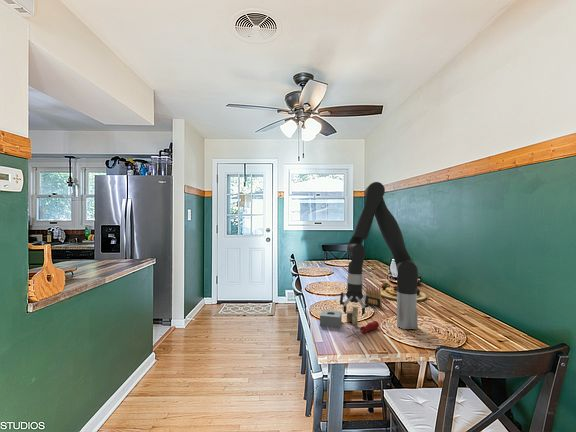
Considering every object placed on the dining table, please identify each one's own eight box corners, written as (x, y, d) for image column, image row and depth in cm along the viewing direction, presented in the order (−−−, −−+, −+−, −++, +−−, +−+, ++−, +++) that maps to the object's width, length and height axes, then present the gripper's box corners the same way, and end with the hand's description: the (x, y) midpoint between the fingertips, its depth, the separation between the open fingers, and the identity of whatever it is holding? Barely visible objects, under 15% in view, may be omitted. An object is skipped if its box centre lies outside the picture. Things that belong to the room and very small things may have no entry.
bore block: (341, 320, 156) (341, 311, 156) (340, 327, 147) (340, 317, 147) (322, 319, 159) (322, 309, 159) (319, 325, 149) (319, 315, 149)
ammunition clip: (381, 307, 182) (381, 287, 182) (380, 307, 180) (380, 287, 181) (366, 303, 190) (366, 284, 190) (364, 303, 188) (364, 284, 188)
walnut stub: (356, 319, 158) (356, 311, 158) (355, 322, 154) (355, 314, 154) (346, 319, 159) (346, 310, 159) (346, 322, 155) (346, 313, 155)
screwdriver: (342, 340, 131) (342, 332, 132) (373, 326, 148) (373, 319, 148) (349, 342, 129) (349, 334, 129) (379, 328, 146) (379, 321, 146)
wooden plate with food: (368, 293, 217) (368, 281, 217) (401, 288, 230) (401, 277, 230) (401, 305, 188) (402, 292, 188) (437, 299, 201) (437, 287, 201)
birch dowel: (357, 324, 152) (357, 306, 152) (357, 325, 149) (357, 307, 149) (352, 323, 152) (352, 306, 152) (352, 325, 150) (352, 307, 150)
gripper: (369, 281, 153) (368, 313, 153) (341, 279, 157) (340, 310, 157) (369, 285, 146) (368, 318, 146) (340, 282, 150) (339, 314, 150)
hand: (353, 313), depth 151 cm, fingers open, 8 cm apart
